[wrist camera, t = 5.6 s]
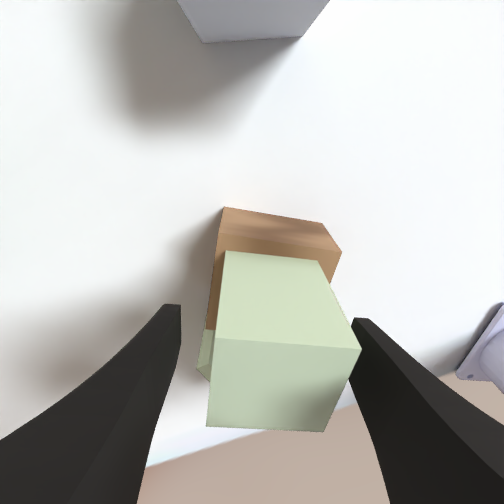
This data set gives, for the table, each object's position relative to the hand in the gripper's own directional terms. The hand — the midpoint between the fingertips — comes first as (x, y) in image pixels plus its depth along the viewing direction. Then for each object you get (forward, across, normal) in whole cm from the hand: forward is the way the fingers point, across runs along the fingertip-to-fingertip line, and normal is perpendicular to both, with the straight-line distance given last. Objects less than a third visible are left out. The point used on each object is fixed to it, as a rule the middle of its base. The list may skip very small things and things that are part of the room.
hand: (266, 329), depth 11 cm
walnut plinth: (+7, 0, 0) cm, 7 cm away
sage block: (+3, 0, 0) cm, 3 cm away
